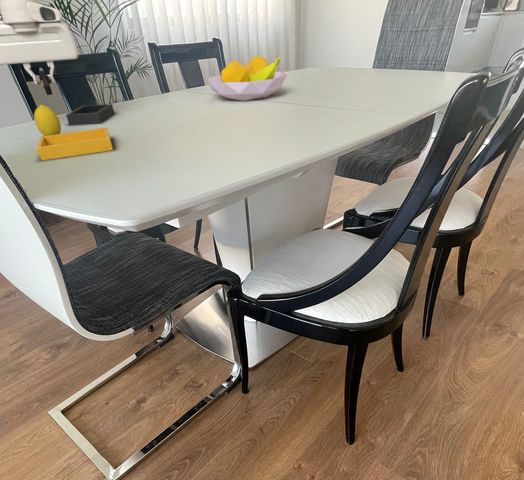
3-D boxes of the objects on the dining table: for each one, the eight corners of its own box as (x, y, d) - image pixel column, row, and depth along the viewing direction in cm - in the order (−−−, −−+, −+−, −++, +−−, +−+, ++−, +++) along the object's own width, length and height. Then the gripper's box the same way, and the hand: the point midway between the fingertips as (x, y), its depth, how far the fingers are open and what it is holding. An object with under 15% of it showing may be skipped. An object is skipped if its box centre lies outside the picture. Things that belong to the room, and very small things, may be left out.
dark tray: (101, 123, 113) (98, 112, 111) (69, 125, 113) (65, 115, 112) (114, 113, 123) (112, 104, 121) (85, 115, 123) (82, 105, 122)
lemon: (43, 144, 97) (28, 107, 92) (43, 140, 101) (29, 104, 95) (66, 141, 98) (53, 104, 93) (65, 136, 102) (52, 101, 97)
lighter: (47, 103, 104) (40, 83, 103) (55, 102, 104) (48, 82, 103) (41, 87, 96) (33, 65, 95) (50, 86, 97) (42, 64, 96)
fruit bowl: (199, 97, 137) (194, 57, 130) (267, 87, 145) (266, 49, 137) (227, 109, 118) (222, 63, 110) (304, 97, 126) (305, 54, 118)
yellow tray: (41, 160, 86) (36, 147, 84) (45, 148, 94) (40, 136, 92) (113, 150, 89) (109, 137, 87) (110, 139, 97) (107, 127, 96)
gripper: (-31, 15, 86) (-1, 89, 95) (65, 10, 91) (86, 81, 100) (-25, 15, 90) (3, 86, 100) (66, 11, 95) (85, 79, 104)
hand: (45, 83), depth 100 cm, fingers closed on lighter, 2 cm apart
